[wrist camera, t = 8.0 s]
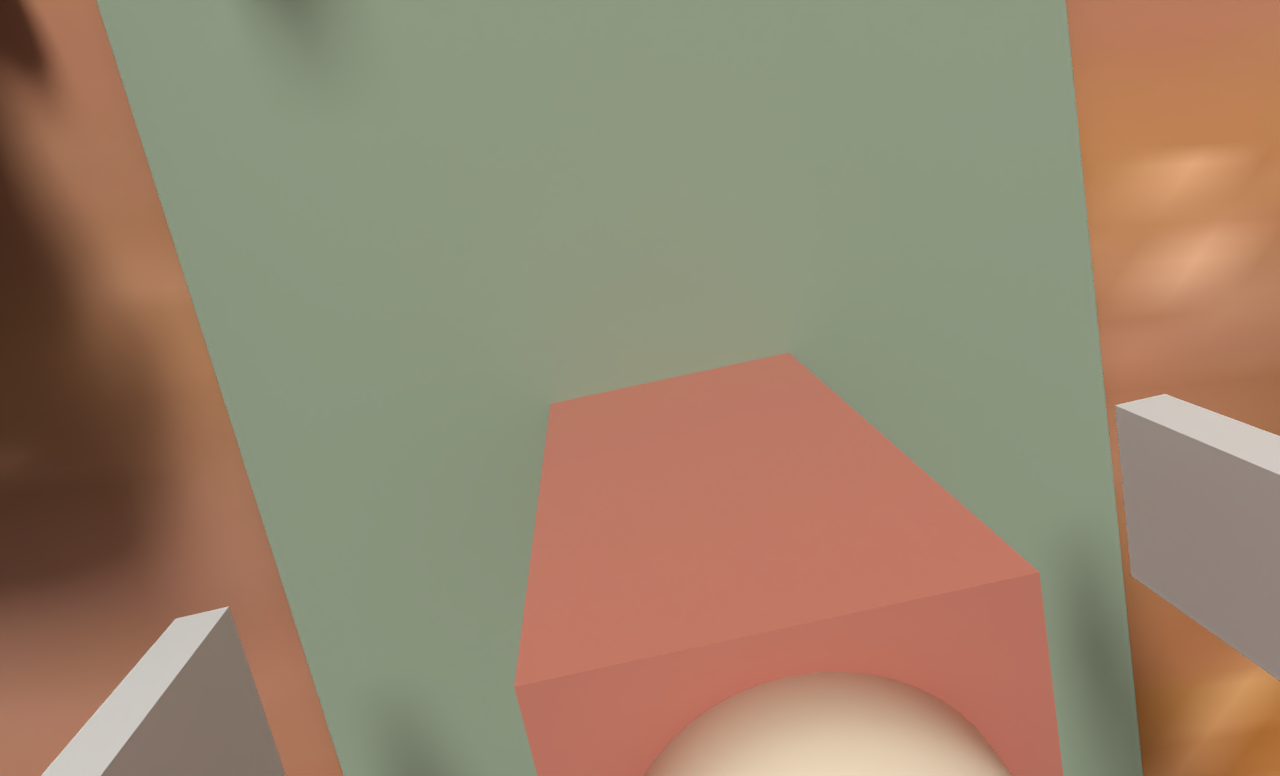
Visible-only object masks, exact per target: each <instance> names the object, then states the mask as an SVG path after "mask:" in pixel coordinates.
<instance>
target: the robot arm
mask: <svg viewBox="0 0 1280 776" xmlns="http://www.w3.org/2000/svg"><path fill="white" fill-rule="evenodd" d="M1115 411H1116V422H1117V432H1118V443H1119V453H1120V463H1121V474H1122V484H1123V495H1124V505H1125V516H1126V526H1127V536H1128V547H1129V557H1130V568H1131V576H1132V577H1134V578H1135V579H1136V580H1138V581H1139V582H1141V583H1142V584H1143V585H1145V586H1146V587H1148V588H1149V589H1151V590H1152V591H1153V592H1155V593H1156V594H1158V595H1159V596H1160V597H1162V598H1163V599H1165V600H1166V601H1167V602H1169V603H1170V604H1172V605H1173V606H1175V607H1176V608H1177V609H1179V610H1180V611H1182V612H1183V613H1184V614H1186V615H1187V616H1189V617H1190V618H1191V619H1193V620H1194V621H1196V622H1197V623H1199V624H1200V625H1201V626H1203V627H1204V628H1206V629H1207V630H1208V631H1210V632H1211V633H1213V634H1214V635H1215V636H1217V637H1218V638H1220V639H1221V640H1223V641H1224V642H1225V643H1227V644H1228V645H1230V646H1231V647H1232V648H1234V649H1235V650H1237V651H1238V652H1239V653H1241V654H1242V655H1244V656H1245V657H1247V658H1248V659H1249V660H1251V661H1252V662H1254V663H1255V664H1256V665H1258V666H1259V667H1261V668H1262V669H1263V670H1265V671H1266V672H1268V673H1269V674H1271V675H1272V676H1273V677H1275V678H1276V679H1278V680H1279V681H1280V436H1278V435H1275V434H1272V433H1270V432H1267V431H1264V430H1261V429H1259V428H1256V427H1253V426H1251V425H1248V424H1245V423H1242V422H1240V421H1237V420H1234V419H1232V418H1229V417H1226V416H1223V415H1221V414H1218V413H1215V412H1213V411H1210V410H1207V409H1204V408H1202V407H1199V406H1196V405H1194V404H1191V403H1188V402H1185V401H1183V400H1180V399H1177V398H1175V397H1172V396H1169V395H1166V394H1163V395H1158V396H1154V397H1149V398H1145V399H1141V400H1136V401H1132V402H1127V403H1123V404H1119V405H1115ZM284 774H285V772H284V769H283V766H282V763H281V760H280V757H279V754H278V751H277V748H276V745H275V742H274V739H273V736H272V733H271V730H270V727H269V724H268V721H267V718H266V715H265V712H264V709H263V706H262V703H261V700H260V697H259V694H258V691H257V688H256V685H255V682H254V680H253V677H252V674H251V671H250V668H249V665H248V662H247V659H246V656H245V653H244V650H243V647H242V644H241V641H240V638H239V635H238V632H237V629H236V626H235V623H234V620H233V617H232V614H231V611H230V608H229V607H225V608H220V609H216V610H212V611H207V612H203V613H198V614H194V615H190V616H185V617H181V618H176V619H175V620H174V621H173V622H172V623H171V625H170V626H169V627H168V628H167V629H166V630H165V632H164V633H163V634H162V635H161V636H160V637H159V639H158V640H157V641H156V642H155V643H154V644H153V646H152V647H151V648H150V649H149V650H148V651H147V653H146V654H145V655H144V656H143V657H142V658H141V660H140V661H139V662H138V663H137V664H136V665H135V667H134V668H133V669H132V670H131V671H130V672H129V674H128V675H127V676H126V677H125V678H124V679H123V681H122V682H121V683H120V684H119V685H118V686H117V688H116V689H115V690H114V691H113V692H112V693H111V695H110V696H109V697H108V698H107V699H106V700H105V702H104V703H103V704H102V705H101V706H100V707H99V709H98V710H97V711H96V712H95V713H94V714H93V716H92V717H91V718H90V719H89V720H88V721H87V723H86V724H85V725H84V726H83V727H82V728H81V730H80V731H79V732H78V733H77V734H76V735H75V737H74V738H73V739H72V740H71V741H70V742H69V744H68V745H67V746H66V747H65V748H64V749H63V751H62V752H61V753H60V754H59V755H58V756H57V758H56V759H55V760H54V761H53V762H52V763H51V765H50V766H49V767H48V768H47V769H46V770H45V772H44V773H43V774H42V775H41V776H284Z"/></svg>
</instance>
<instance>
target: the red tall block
mask: <svg viewBox="0 0 1280 776" xmlns="http://www.w3.org/2000/svg"><path fill="white" fill-rule="evenodd" d="M514 688H515V692H516V696H517V700H518V703H519V707H520V711H521V715H522V719H523V723H524V726H525V730H526V734H527V738H528V742H529V745H530V749H531V753H532V757H533V761H534V765H535V768H536V772H537V776H1063V769H1062V760H1061V752H1060V743H1059V735H1058V726H1057V718H1056V709H1055V701H1054V692H1053V684H1052V675H1051V667H1050V658H1049V650H1048V641H1047V633H1046V624H1045V616H1044V607H1043V599H1042V590H1041V581H1040V573H1039V571H1037V570H1036V569H1035V568H1034V567H1033V566H1032V565H1031V564H1029V563H1028V562H1027V561H1026V560H1025V559H1024V558H1023V557H1021V556H1020V555H1019V554H1018V553H1017V552H1016V551H1015V550H1013V549H1012V548H1011V547H1010V546H1009V545H1008V544H1007V543H1005V542H1004V541H1003V540H1002V539H1001V538H1000V537H999V536H997V535H996V534H995V533H994V532H993V531H992V530H991V529H989V528H988V527H987V526H986V525H985V524H984V523H983V522H982V521H980V520H979V519H978V518H977V517H976V516H975V515H974V514H972V513H971V512H970V511H969V510H968V509H967V508H966V507H964V506H963V505H962V504H961V503H960V502H959V501H958V500H956V499H955V498H954V497H953V496H952V495H951V494H950V493H948V492H947V491H946V490H945V489H944V488H943V487H942V486H940V485H939V484H938V483H937V482H936V481H935V480H934V479H932V478H931V477H930V476H929V475H928V474H927V473H926V472H924V471H923V470H922V469H921V468H920V467H919V466H918V465H917V464H915V463H914V462H913V461H912V460H911V459H910V458H909V457H907V456H906V455H905V454H904V453H903V452H902V451H901V450H899V449H898V448H897V447H896V446H895V445H894V444H893V443H891V442H890V441H889V440H888V439H887V438H886V437H885V436H883V435H882V434H881V433H880V432H879V431H878V430H877V429H875V428H874V427H873V426H872V425H871V424H870V423H869V422H867V421H866V420H865V419H864V418H863V417H862V416H861V415H859V414H858V413H857V412H856V411H855V410H854V409H853V408H852V407H850V406H849V405H848V404H847V403H846V402H845V401H844V400H842V399H841V398H840V397H839V396H838V395H837V394H836V393H834V392H833V391H832V390H831V389H830V388H829V387H828V386H826V385H825V384H824V383H823V382H822V381H821V380H820V379H818V378H817V377H816V376H815V375H814V374H813V373H812V372H810V371H809V370H808V369H807V368H806V367H805V366H804V365H802V364H801V363H800V362H799V361H798V360H797V359H796V358H794V357H793V356H792V355H791V354H790V353H785V354H780V355H776V356H771V357H766V358H761V359H757V360H752V361H747V362H743V363H738V364H733V365H729V366H724V367H719V368H715V369H710V370H705V371H701V372H696V373H691V374H687V375H682V376H677V377H673V378H668V379H663V380H659V381H654V382H649V383H645V384H640V385H635V386H631V387H626V388H621V389H617V390H612V391H607V392H603V393H598V394H593V395H589V396H584V397H579V398H575V399H570V400H565V401H561V402H556V403H551V404H550V410H549V418H548V426H547V433H546V441H545V449H544V457H543V465H542V473H541V480H540V488H539V496H538V504H537V512H536V520H535V527H534V535H533V543H532V551H531V559H530V567H529V574H528V582H527V590H526V598H525V606H524V614H523V621H522V629H521V637H520V645H519V653H518V660H517V668H516V676H515V684H514Z"/></svg>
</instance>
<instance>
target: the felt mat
mask: <svg viewBox="0 0 1280 776" xmlns="http://www.w3.org/2000/svg"><path fill="white" fill-rule="evenodd" d="M96 1H97V4H98V7H99V10H100V13H101V16H102V19H103V23H104V26H105V29H106V32H107V35H108V38H109V41H110V45H111V48H112V51H113V54H114V57H115V60H116V63H117V67H118V70H119V73H120V76H121V79H122V82H123V85H124V88H125V92H126V95H127V98H128V101H129V104H130V107H131V110H132V114H133V117H134V120H135V123H136V126H137V129H138V132H139V136H140V139H141V142H142V145H143V148H144V151H145V154H146V157H147V161H148V164H149V167H150V170H151V173H152V176H153V179H154V183H155V186H156V189H157V192H158V195H159V198H160V201H161V205H162V208H163V211H164V214H165V217H166V220H167V223H168V226H169V230H170V233H171V236H172V239H173V242H174V245H175V248H176V252H177V255H178V258H179V261H180V264H181V267H182V270H183V274H184V277H185V280H186V283H187V286H188V289H189V292H190V295H191V299H192V302H193V305H194V308H195V311H196V314H197V317H198V321H199V324H200V327H201V330H202V333H203V336H204V339H205V343H206V346H207V349H208V352H209V355H210V358H211V361H212V364H213V368H214V371H215V374H216V377H217V380H218V383H219V386H220V390H221V393H222V396H223V399H224V402H225V405H226V408H227V412H228V415H229V418H230V421H231V424H232V427H233V430H234V433H235V437H236V440H237V443H238V446H239V449H240V452H241V455H242V459H243V462H244V465H245V468H246V471H247V474H248V477H249V481H250V484H251V487H252V490H253V493H254V496H255V499H256V502H257V506H258V509H259V512H260V515H261V518H262V521H263V524H264V528H265V531H266V534H267V537H268V540H269V543H270V546H271V550H272V553H273V556H274V559H275V562H276V565H277V568H278V572H279V575H280V578H281V581H282V584H283V587H284V590H285V593H286V597H287V600H288V603H289V606H290V609H291V612H292V615H293V619H294V622H295V625H296V628H297V631H298V634H299V637H300V641H301V644H302V647H303V650H304V653H305V656H306V659H307V662H308V666H309V669H310V672H311V675H312V678H313V681H314V684H315V688H316V691H317V694H318V697H319V700H320V703H321V706H322V710H323V713H324V716H325V719H326V722H327V725H328V728H329V731H330V735H331V738H332V741H333V744H334V747H335V750H336V753H337V757H338V760H339V763H340V766H341V769H342V772H343V775H344V776H537V772H536V768H535V765H534V761H533V757H532V753H531V749H530V745H529V742H528V738H527V734H526V730H525V726H524V723H523V719H522V715H521V711H520V707H519V703H518V700H517V696H516V692H515V688H514V684H515V676H516V668H517V660H518V653H519V645H520V637H521V629H522V621H523V614H524V606H525V598H526V590H527V582H528V574H529V567H530V559H531V551H532V543H533V535H534V527H535V520H536V512H537V504H538V496H539V488H540V480H541V473H542V465H543V457H544V449H545V441H546V433H547V426H548V418H549V410H550V404H551V403H556V402H561V401H565V400H570V399H575V398H579V397H584V396H589V395H593V394H598V393H603V392H607V391H612V390H617V389H621V388H626V387H631V386H635V385H640V384H645V383H649V382H654V381H659V380H663V379H668V378H673V377H677V376H682V375H687V374H691V373H696V372H701V371H705V370H710V369H715V368H719V367H724V366H729V365H733V364H738V363H743V362H747V361H752V360H757V359H761V358H766V357H771V356H776V355H780V354H785V353H790V354H791V355H792V356H793V357H794V358H796V359H797V360H798V361H799V362H800V363H801V364H802V365H804V366H805V367H806V368H807V369H808V370H809V371H810V372H812V373H813V374H814V375H815V376H816V377H817V378H818V379H820V380H821V381H822V382H823V383H824V384H825V385H826V386H828V387H829V388H830V389H831V390H832V391H833V392H834V393H836V394H837V395H838V396H839V397H840V398H841V399H842V400H844V401H845V402H846V403H847V404H848V405H849V406H850V407H852V408H853V409H854V410H855V411H856V412H857V413H858V414H859V415H861V416H862V417H863V418H864V419H865V420H866V421H867V422H869V423H870V424H871V425H872V426H873V427H874V428H875V429H877V430H878V431H879V432H880V433H881V434H882V435H883V436H885V437H886V438H887V439H888V440H889V441H890V442H891V443H893V444H894V445H895V446H896V447H897V448H898V449H899V450H901V451H902V452H903V453H904V454H905V455H906V456H907V457H909V458H910V459H911V460H912V461H913V462H914V463H915V464H917V465H918V466H919V467H920V468H921V469H922V470H923V471H924V472H926V473H927V474H928V475H929V476H930V477H931V478H932V479H934V480H935V481H936V482H937V483H938V484H939V485H940V486H942V487H943V488H944V489H945V490H946V491H947V492H948V493H950V494H951V495H952V496H953V497H954V498H955V499H956V500H958V501H959V502H960V503H961V504H962V505H963V506H964V507H966V508H967V509H968V510H969V511H970V512H971V513H972V514H974V515H975V516H976V517H977V518H978V519H979V520H980V521H982V522H983V523H984V524H985V525H986V526H987V527H988V528H989V529H991V530H992V531H993V532H994V533H995V534H996V535H997V536H999V537H1000V538H1001V539H1002V540H1003V541H1004V542H1005V543H1007V544H1008V545H1009V546H1010V547H1011V548H1012V549H1013V550H1015V551H1016V552H1017V553H1018V554H1019V555H1020V556H1021V557H1023V558H1024V559H1025V560H1026V561H1027V562H1028V563H1029V564H1031V565H1032V566H1033V567H1034V568H1035V569H1036V570H1037V571H1039V573H1040V581H1041V590H1042V599H1043V607H1044V616H1045V624H1046V633H1047V641H1048V650H1049V658H1050V667H1051V675H1052V684H1053V692H1054V701H1055V709H1056V718H1057V726H1058V735H1059V743H1060V752H1061V760H1062V769H1063V776H1143V769H1142V759H1141V749H1140V739H1139V729H1138V719H1137V709H1136V699H1135V689H1134V679H1133V670H1132V660H1131V650H1130V640H1129V630H1128V620H1127V610H1126V600H1125V590H1124V580H1123V570H1122V560H1121V550H1120V540H1119V530H1118V520H1117V510H1116V500H1115V490H1114V480H1113V470H1112V460H1111V450H1110V440H1109V430H1108V420H1107V410H1106V400H1105V390H1104V380H1103V370H1102V360H1101V350H1100V340H1099V330H1098V320H1097V310H1096V300H1095V290H1094V280H1093V270H1092V260H1091V250H1090V240H1089V230H1088V220H1087V210H1086V200H1085V190H1084V180H1083V170H1082V160H1081V150H1080V140H1079V130H1078V120H1077V110H1076V100H1075V90H1074V80H1073V70H1072V60H1071V50H1070V40H1069V30H1068V20H1067V10H1066V0H96Z"/></svg>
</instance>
